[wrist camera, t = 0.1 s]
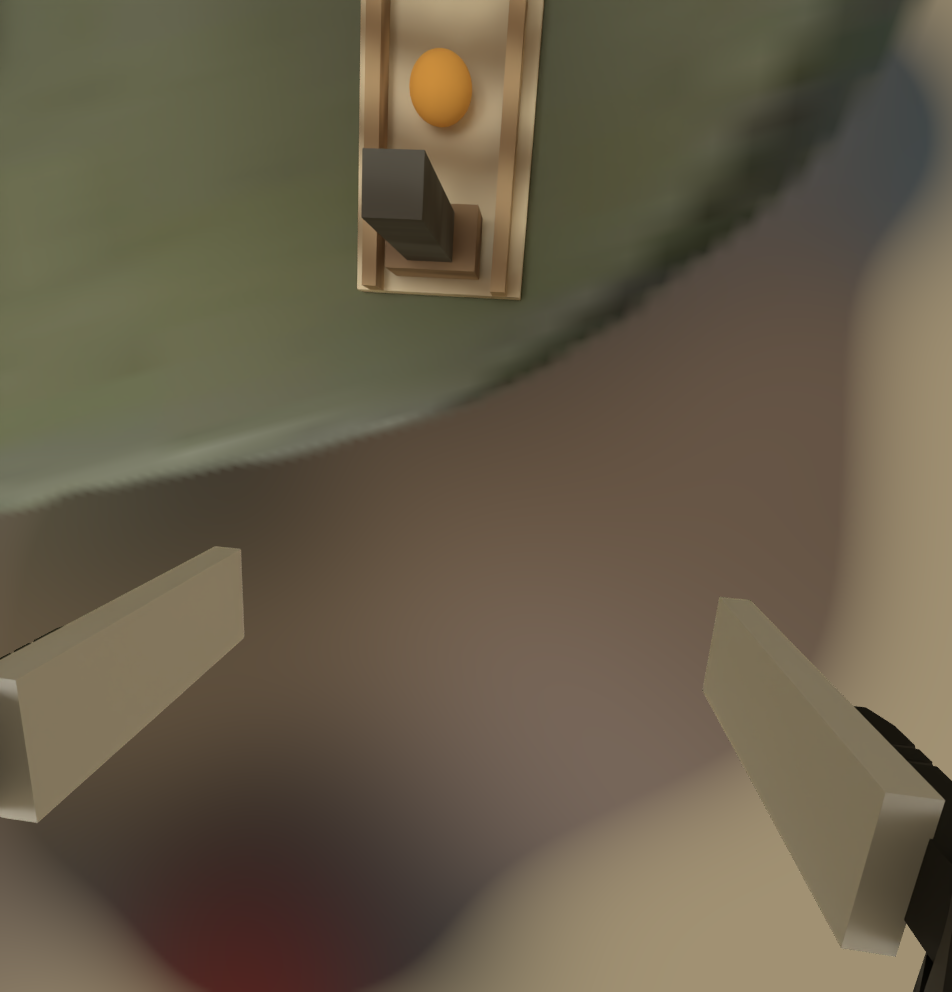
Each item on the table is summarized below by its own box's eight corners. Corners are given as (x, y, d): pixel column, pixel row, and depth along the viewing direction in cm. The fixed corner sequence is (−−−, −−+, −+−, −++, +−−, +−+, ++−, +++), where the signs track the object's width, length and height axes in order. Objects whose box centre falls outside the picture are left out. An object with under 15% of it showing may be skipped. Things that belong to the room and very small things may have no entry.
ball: (418, 70, 35) (403, 31, 31) (477, 71, 35) (470, 32, 31) (415, 137, 36) (401, 108, 32) (473, 139, 36) (466, 109, 32)
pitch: (366, -6, 35) (350, -43, 32) (544, -6, 34) (545, -44, 31) (362, 291, 40) (347, 284, 37) (520, 300, 39) (519, 293, 36)
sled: (398, 215, 37) (331, 135, 25) (482, 218, 36) (456, 138, 24) (396, 275, 38) (331, 227, 26) (478, 279, 37) (452, 232, 25)
